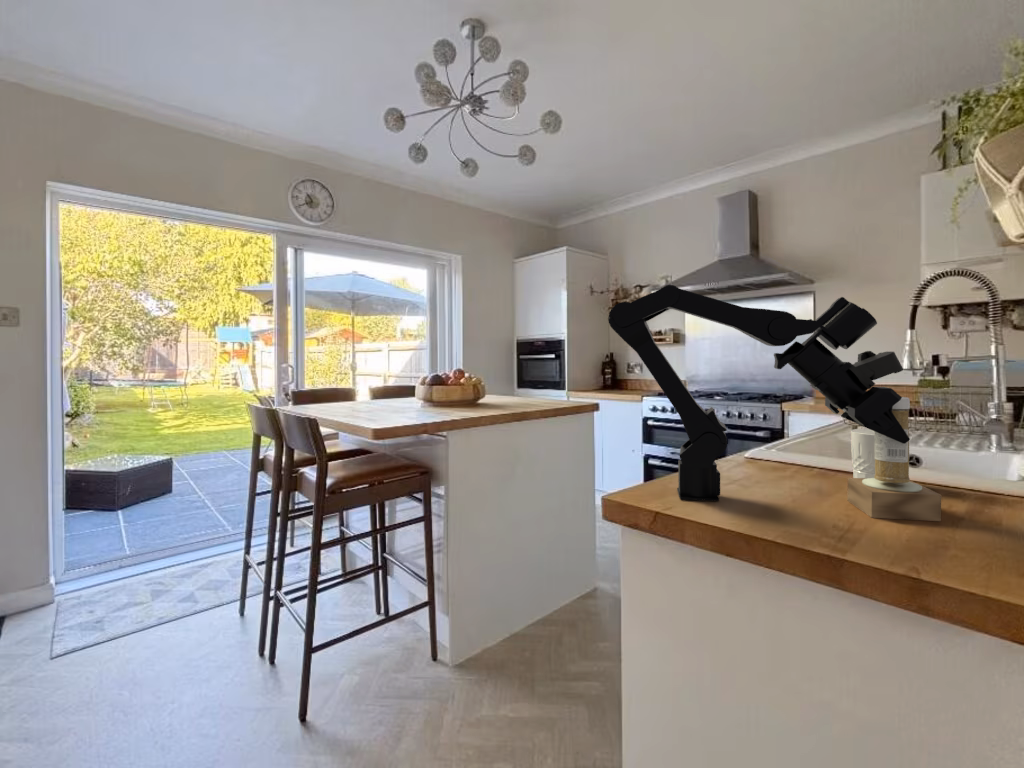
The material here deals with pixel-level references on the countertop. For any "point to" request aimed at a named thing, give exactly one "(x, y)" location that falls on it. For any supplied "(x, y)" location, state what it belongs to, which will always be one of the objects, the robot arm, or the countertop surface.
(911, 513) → the riser
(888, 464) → the sprinkles bottle
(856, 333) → the robot arm
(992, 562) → the countertop surface
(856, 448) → the white cup
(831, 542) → the countertop surface
